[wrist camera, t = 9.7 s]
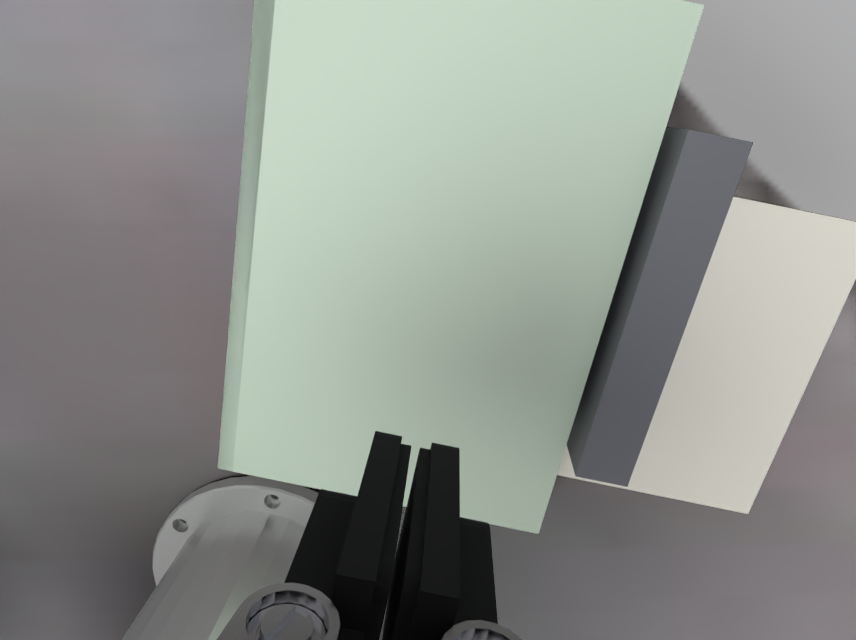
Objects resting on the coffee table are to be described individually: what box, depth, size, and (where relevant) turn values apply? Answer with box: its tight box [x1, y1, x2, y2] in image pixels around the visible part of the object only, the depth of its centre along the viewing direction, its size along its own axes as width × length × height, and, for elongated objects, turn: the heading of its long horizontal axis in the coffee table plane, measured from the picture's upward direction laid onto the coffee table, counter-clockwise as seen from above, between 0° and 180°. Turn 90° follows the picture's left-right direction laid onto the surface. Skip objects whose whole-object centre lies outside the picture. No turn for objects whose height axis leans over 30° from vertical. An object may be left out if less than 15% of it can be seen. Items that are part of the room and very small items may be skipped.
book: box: [218, 0, 704, 534], centre depth 26 cm, size 22×15×4 cm
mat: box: [557, 197, 856, 514], centre depth 28 cm, size 15×10×1 cm
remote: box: [567, 127, 753, 487], centre depth 25 cm, size 14×5×2 cm
